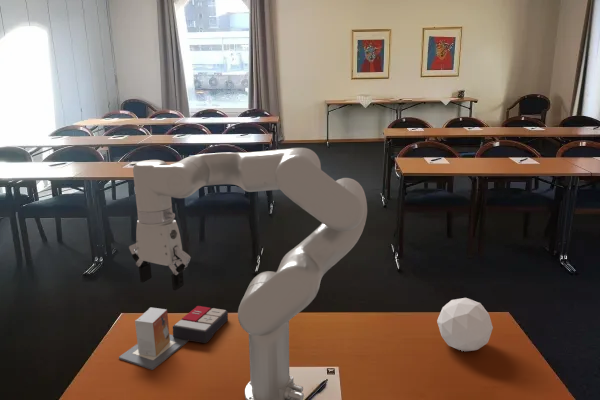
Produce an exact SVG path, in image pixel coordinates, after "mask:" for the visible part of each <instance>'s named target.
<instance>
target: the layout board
mask: <svg viewBox="0 0 600 400" xmlns="http://www.w3.org/2000/svg"><path fill="white" fill-rule="evenodd" d="M169 336H170V342H169V343H168V344H167V345H166V346H165V347H164V348H163V349H162V350H161V352H160V353H159V354H158V355H157V356H149V355H142V354H139V352H138V343H136V344H134V346H132V347H130V348H129V349H128V350H127V351H125V352H124V353H122V354H121V355H119V357H118V359H119V360H120V361H125V362H126V363H130V364H132V365H135V366H140V367H142V368H146V369H147V370H151V371H153V370H155V369H156V368H158V366H160V365H161V364H162V363H164V362H165V360H167V359H168V358H170V357H171V356H172V355H173V354H175V352H177V351H179V349H181V348H183V346H184V345H186V344H187V343H188V342H189V340H184V339H179V338H174V337H173V334H170V333H169Z"/></svg>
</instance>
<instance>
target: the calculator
mask: <svg viewBox="0 0 600 400" xmlns="http://www.w3.org/2000/svg"><path fill="white" fill-rule="evenodd" d="M228 314H229V312H228V311H227V310H226V309H220V308H215V307H213V308H211V307H207V306H203V305H202V306H201V305H197V306H195V307H194V308H193V309H192V310H191V311H190V312H188V313H187V314H186V315H185V316H183V317H182V318H181V319H180V320H178V321H177V322H176V323H175V324H174V325H172V335H173V337H174V338H179V339H184V340H188V341H190V342H196V343H197V342H198V343H202V344H207V343H209V341H210V340H211V339H212V338H213V336H214V335H215V333H217V332H218V331H219V330H220V328H222V326H224V324H226V322H228V321H229V315H228Z"/></svg>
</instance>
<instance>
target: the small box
mask: <svg viewBox="0 0 600 400" xmlns="http://www.w3.org/2000/svg"><path fill="white" fill-rule="evenodd" d="M134 325H135V332H136V341H137V342H136V344H138V352H139V354H142V355H149V356H157V355H158V354H159V353H160V352H161V350H162V349H163V348H164V347H165V346H166V345H167V344H168V343H169V342H170V336H169V334H170V326H169V325H170V324H169V317H168V309H167V308H166V309H165V308H159V307H158V308H157V307H149V308H148V309H147V310H146V311H145V312H143V313H142V314H141V315H140V316H139V317H138V318H137V319H135V320H134Z"/></svg>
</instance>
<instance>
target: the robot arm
mask: <svg viewBox="0 0 600 400" xmlns="http://www.w3.org/2000/svg"><path fill="white" fill-rule="evenodd" d="M321 164H322V163H321V160H320V158H319V155H317V153H316V152H315V151H314V150H312V149H310V148H307V147H291V148H282V149H281V148H280V149H279V148H278V149H272V150H261V151H260V150H259V151H248V152H247V151H246V152H239V151H238V152H215V153H203V154H202V153H201V154H195V155H190V156H188V157H185V158H183V159H181V160H179V161H177V162H173V163H171V164H168V163H167V162H166V161H164V160H160V159H149V160H148V159H147V160H140V161H137V162H136V163H135V164H134V165H133V166H132V167H133V168H132V172H133V184H134V193H135V202H136V212H137V221H136V230H135V231H136V238H135V239H136V240H135V241H136V242H135V243H133V244H131V245H129V246H128V249H129V251H130V253H131V256H132V259H133V260H134V261H135V265H136V266H137V267H138V273H139V280H140V283H142V284H143V283H146V282H147V281H148V280H150V279H152V278H153V276H152V267H151V263H152V264H155V265H162V266H168V267H169V269H170V270H171V272H172V274H171V283H172V284H171V285H172V290H173V291H178V290H179V289H181V288H182V287H184V285H185V284H184V283H185V281H184V273H183V272H184V271H185V270H186V268H188V266H189V264H190V261H191V258H192V257H191V256H190V254H188V253H187V252H186V251H184V250H183V245H182V239H181V238H182V237H181V234H180V230H179V226H178V223H177V220H176V219H175V218H176V213H175V212H173V204H172V203H173V202H172V198H174V199H185V198H188V197H190V196H192V195H193V194H194V193H196V192H197V191H198V190H199V189H201V188H202V187H206V186H215V185H216V186H218V185H233V186H234V185H235V186H238V187H239V188H241V189H242V190H243V191H245V192H248V193H253V192H265V191H278V190H280V191H281V192H282V193H283V194H284V195H285V197H287V198H288V199H290V200H291V201H292V202H293V203H295V204H296V205H297V206H299V207H300V208H301V209H302V210H304V211H305V212H307V213H308V214H309V215H311V216H312V217H314V218H315V219H316V220H317V221H319V222H321V224H320V225H319V226H318V227H316V229H315V230H313V231H312V232H311V233H310V234H309V235H308V236H307V237H305V238H304V239H303V240H302V241H301V242H300V243H299V244H297V245H296V246H294V248H292V249H290V250H289V251H288V252H287V253H286V254H285V255H284V256H283V257H282V259H281V261H280V263H279V266H278V268H277V270H276V271H269V270H267V271H262V272H260V273H259V274H257V275H256V276H255V277H253V279H251V281H250V283H249V285H248V287H247V289H246V290H245V293H244V296H243V297H242V299H241V301H240V304H239V306H238V310H237V318H238V323H239V325H240V327H241V328H242V329H243V330H244V331H245V332H246V333H247V334H248V349H249V351H248V352H249V374H250V381H248V383H247V384H246V386H245V388H244V398H245V400H304V397H305V395H304V393H303V391H304V386H301V385H299V384H298V385H297V384H295V383H294V376H293V375H290V321H291V320H292V319H293V318H294V317H296V316H297V315H298V314H300V312H302V311H303V310H304V309H306V308H307V307H308V306H309V305H310V304H311V303H312V302H313V300H314V299H315V298H316V297H317V294H318V292H319V290H320V286H321V285H320V284H321V280H322V278H323V276H325V274H326V273H327V272H328V271H329V270H330V269H332V267H333V266H335V265H336V264H337V263H338V262H340V260H341V259H343V258H344V257H345V256H346V255H347V254H348V253H349V252H350V251H351V250H352V249H353V248H354V247H355V246H356V244H357V243H358V241H359V239H360V237H361V235H362V234H363V231H364V228H365V226H366V221H367V216H368V203H367V202H368V201H367V198H366V193H365V190H364V188H363V186H362V185H361V184H360V182H358V181H357V180H355V179H353V178H350V177H342V178H339V179H337V180H335V179H333V177H331V176H330V175H328V173H326V172H325V171H323V170H322V167H321ZM175 264H176V265H175ZM176 266H177V267H176Z"/></svg>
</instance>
